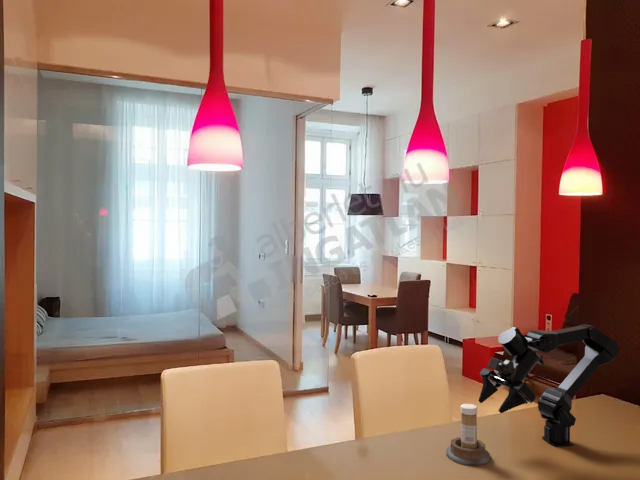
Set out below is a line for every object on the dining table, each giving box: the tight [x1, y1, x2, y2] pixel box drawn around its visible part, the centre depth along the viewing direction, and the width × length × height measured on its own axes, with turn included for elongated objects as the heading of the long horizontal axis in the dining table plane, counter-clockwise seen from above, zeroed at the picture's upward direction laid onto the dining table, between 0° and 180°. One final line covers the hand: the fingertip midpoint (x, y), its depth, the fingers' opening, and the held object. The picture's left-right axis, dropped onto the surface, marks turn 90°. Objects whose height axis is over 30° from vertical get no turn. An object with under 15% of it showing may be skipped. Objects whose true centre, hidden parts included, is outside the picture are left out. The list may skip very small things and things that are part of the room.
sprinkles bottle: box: [460, 403, 478, 449], centre depth 146 cm, size 5×5×14 cm
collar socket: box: [445, 436, 491, 466], centre depth 146 cm, size 12×12×4 cm
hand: (489, 406), depth 148 cm, fingers open, 9 cm apart
